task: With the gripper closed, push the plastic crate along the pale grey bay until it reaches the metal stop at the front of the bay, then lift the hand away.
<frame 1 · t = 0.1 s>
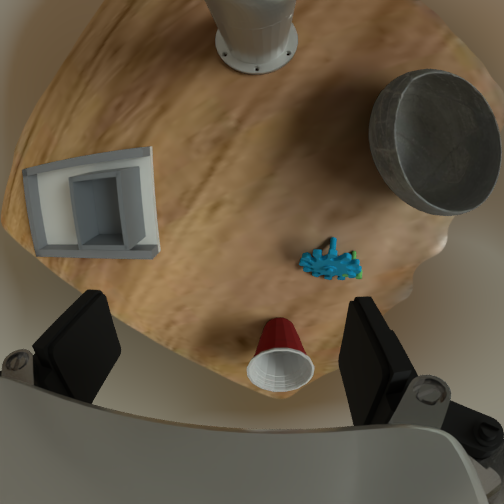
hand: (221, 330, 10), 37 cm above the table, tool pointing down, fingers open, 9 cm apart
bowl: (408, 139, 40), on the table
plastic cup: (278, 329, 54), on the table
bay: (88, 204, 47), on the table
gear: (328, 257, 48), on the table
crate: (106, 207, 42), point 4 cm above the table, slide at 0.0 cm
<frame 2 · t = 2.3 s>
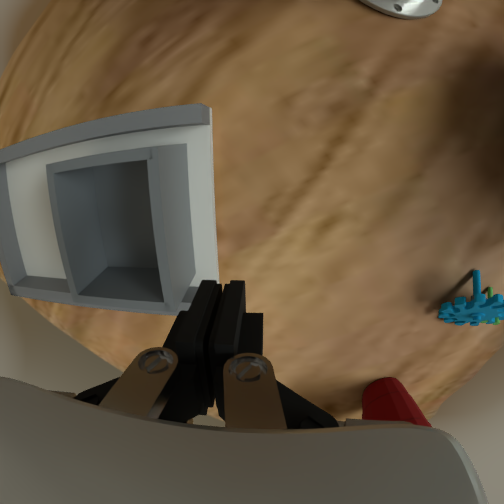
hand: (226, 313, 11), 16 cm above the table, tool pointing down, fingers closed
plastic cup: (380, 390, 34), on the table
bay: (87, 213, 27), on the table
gear: (463, 295, 28), on the table
crate: (121, 223, 22), point 4 cm above the table, slide at 0.0 cm
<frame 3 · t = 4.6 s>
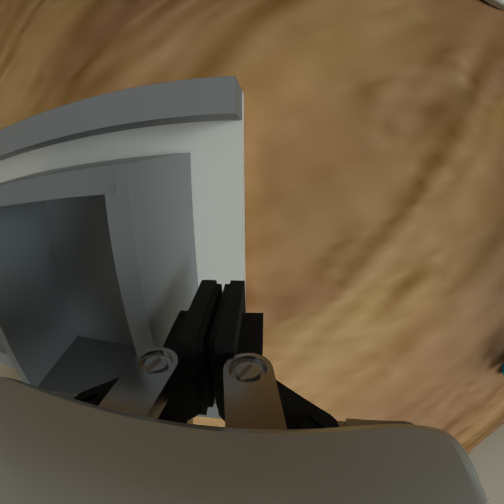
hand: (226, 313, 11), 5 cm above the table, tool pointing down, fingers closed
bay: (50, 255, 17), on the table
crate: (83, 292, 12), point 4 cm above the table, slide at 0.5 cm, touching gripper
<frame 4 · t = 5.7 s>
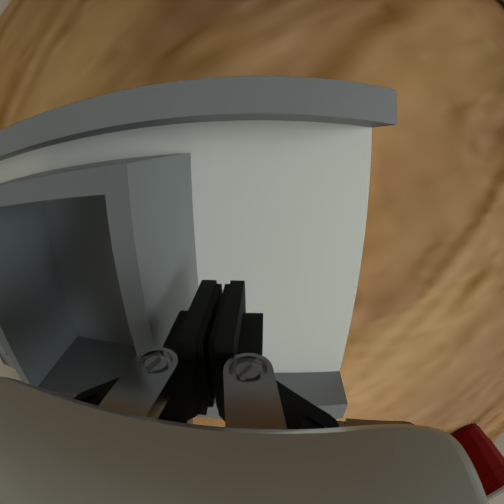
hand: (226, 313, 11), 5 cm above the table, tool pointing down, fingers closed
plastic cup: (457, 436, 24), on the table
bay: (120, 258, 17), on the table
crate: (83, 292, 12), point 4 cm above the table, slide at 6.8 cm, touching gripper
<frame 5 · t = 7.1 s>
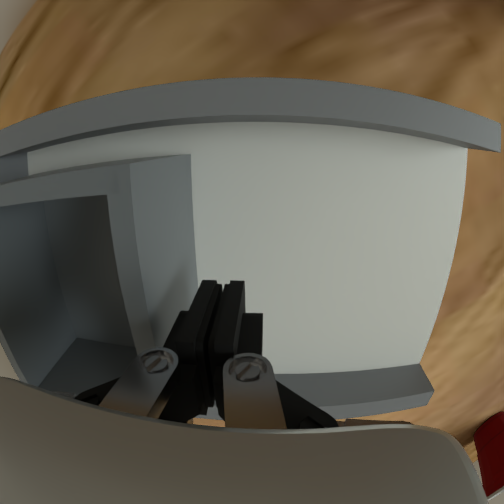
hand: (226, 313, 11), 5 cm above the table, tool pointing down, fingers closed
plastic cup: (487, 425, 24), on the table
bay: (221, 261, 16), on the table
crate: (83, 293, 12), point 4 cm above the table, slide at 13.2 cm, touching gripper
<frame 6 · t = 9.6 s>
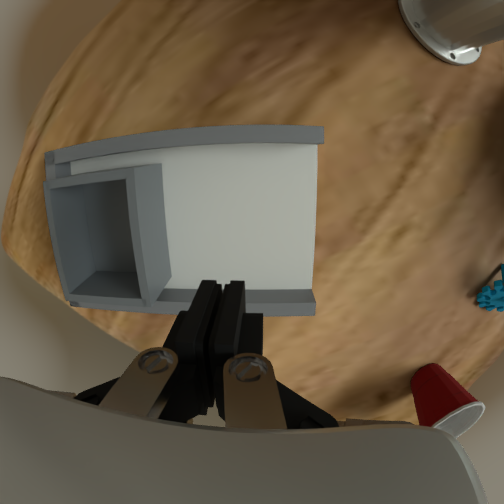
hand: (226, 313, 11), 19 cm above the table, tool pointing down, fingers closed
plastic cup: (424, 376, 37), on the table
bay: (178, 219, 30), on the table
gear: (492, 285, 32), on the table
crate: (106, 232, 26), point 4 cm above the table, slide at 13.0 cm
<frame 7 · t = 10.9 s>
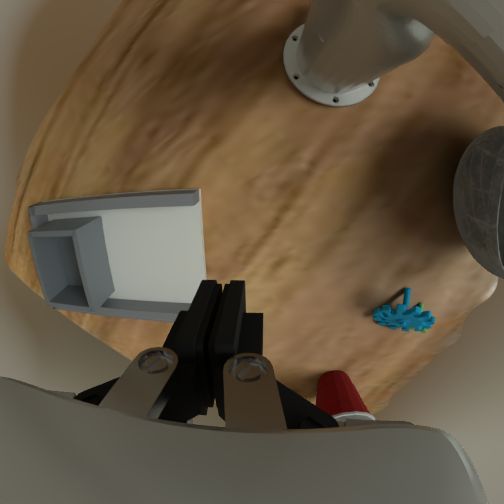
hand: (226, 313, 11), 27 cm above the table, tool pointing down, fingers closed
bowl: (477, 188, 34), on the table
plastic cup: (332, 381, 48), on the table
bay: (116, 252, 41), on the table
gear: (396, 306, 42), on the table
crate: (70, 262, 37), point 4 cm above the table, slide at 13.0 cm
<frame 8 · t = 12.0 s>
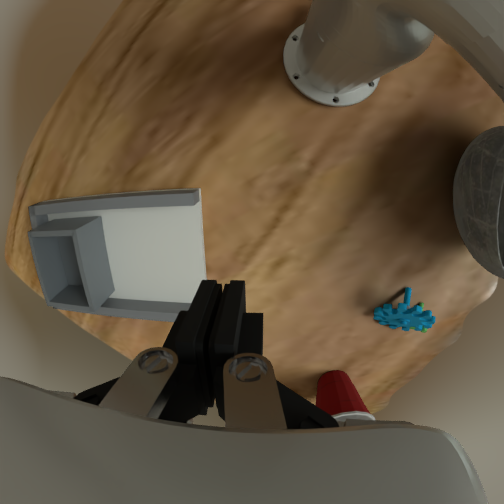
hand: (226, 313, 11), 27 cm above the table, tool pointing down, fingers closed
bowl: (477, 188, 34), on the table
plastic cup: (332, 380, 48), on the table
bay: (116, 252, 41), on the table
gear: (397, 305, 42), on the table
crate: (70, 262, 37), point 4 cm above the table, slide at 13.0 cm
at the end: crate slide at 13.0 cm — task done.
